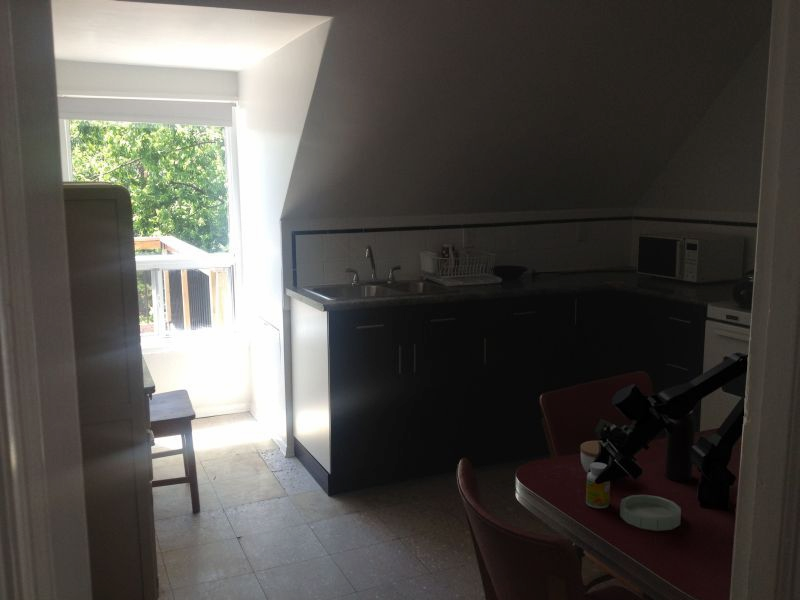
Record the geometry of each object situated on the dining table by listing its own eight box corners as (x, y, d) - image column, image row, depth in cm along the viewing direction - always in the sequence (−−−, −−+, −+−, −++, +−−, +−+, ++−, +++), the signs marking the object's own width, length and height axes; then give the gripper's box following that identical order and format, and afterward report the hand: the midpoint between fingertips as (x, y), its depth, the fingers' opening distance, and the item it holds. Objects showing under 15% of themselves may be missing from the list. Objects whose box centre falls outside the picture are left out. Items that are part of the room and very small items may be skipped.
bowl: (680, 509, 173) (680, 499, 173) (680, 534, 161) (680, 523, 161) (622, 501, 178) (622, 491, 177) (618, 524, 166) (618, 514, 165)
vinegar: (664, 480, 190) (668, 405, 187) (664, 470, 197) (668, 397, 194) (692, 483, 188) (697, 407, 185) (691, 473, 195) (696, 400, 191)
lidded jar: (623, 485, 187) (625, 450, 186) (580, 482, 189) (581, 447, 188) (620, 469, 198) (621, 435, 196) (578, 466, 200) (580, 433, 198)
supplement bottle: (581, 504, 177) (582, 465, 175) (593, 497, 180) (594, 459, 179) (601, 511, 173) (603, 471, 171) (613, 504, 176) (615, 465, 175)
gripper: (606, 398, 182) (560, 441, 184) (630, 422, 164) (579, 470, 165) (637, 428, 183) (590, 471, 185) (664, 456, 165) (612, 503, 167)
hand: (592, 477), depth 175 cm, fingers closed on supplement bottle, 5 cm apart
